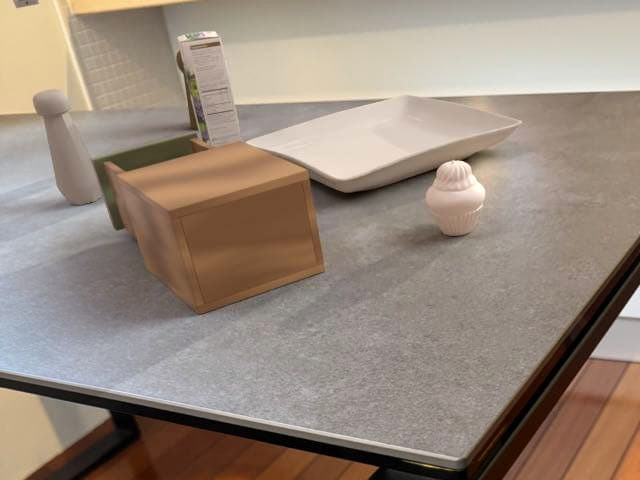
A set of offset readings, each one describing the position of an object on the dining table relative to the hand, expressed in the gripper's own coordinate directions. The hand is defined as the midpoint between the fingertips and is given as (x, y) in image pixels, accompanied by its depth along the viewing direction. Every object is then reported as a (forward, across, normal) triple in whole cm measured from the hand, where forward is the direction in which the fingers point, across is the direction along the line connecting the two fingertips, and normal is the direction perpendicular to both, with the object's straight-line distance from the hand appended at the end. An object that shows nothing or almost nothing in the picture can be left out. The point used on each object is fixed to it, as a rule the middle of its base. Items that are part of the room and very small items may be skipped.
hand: (27, 3), depth 105 cm
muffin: (+53, -29, +33) cm, 69 cm away
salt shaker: (+25, +3, -2) cm, 25 cm away
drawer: (+38, -5, +16) cm, 42 cm away
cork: (+10, -22, -22) cm, 33 cm away
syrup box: (+20, -19, -10) cm, 29 cm away
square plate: (+35, -34, +10) cm, 50 cm away
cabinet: (+49, -6, +28) cm, 57 cm away
